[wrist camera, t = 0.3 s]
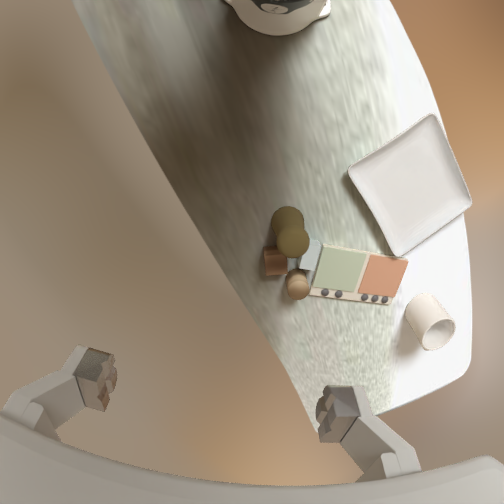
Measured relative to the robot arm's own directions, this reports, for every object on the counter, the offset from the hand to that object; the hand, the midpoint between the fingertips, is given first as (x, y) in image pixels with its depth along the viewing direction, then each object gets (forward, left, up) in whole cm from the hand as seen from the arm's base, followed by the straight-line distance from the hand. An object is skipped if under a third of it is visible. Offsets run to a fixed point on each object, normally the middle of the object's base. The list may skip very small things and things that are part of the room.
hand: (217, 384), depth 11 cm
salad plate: (-4, +31, -47) cm, 57 cm away
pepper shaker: (+9, +9, -47) cm, 48 cm away
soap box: (+14, +14, -47) cm, 51 cm away
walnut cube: (+16, +8, -47) cm, 50 cm away
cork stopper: (+20, +13, -47) cm, 52 cm away
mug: (+25, +45, -47) cm, 69 cm away
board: (+17, +26, -47) cm, 56 cm away
